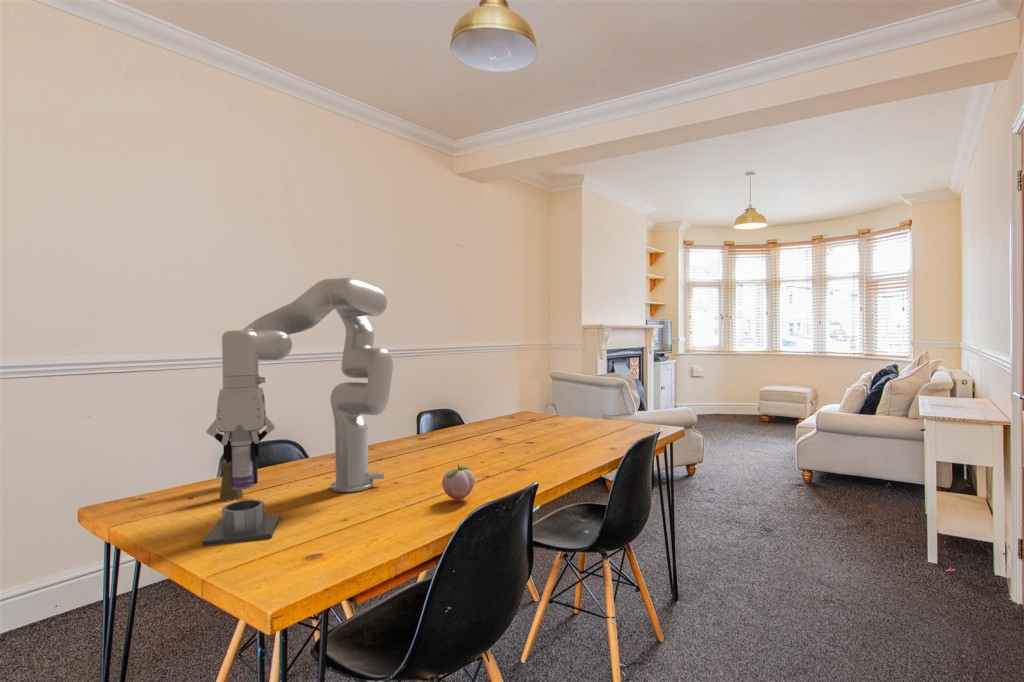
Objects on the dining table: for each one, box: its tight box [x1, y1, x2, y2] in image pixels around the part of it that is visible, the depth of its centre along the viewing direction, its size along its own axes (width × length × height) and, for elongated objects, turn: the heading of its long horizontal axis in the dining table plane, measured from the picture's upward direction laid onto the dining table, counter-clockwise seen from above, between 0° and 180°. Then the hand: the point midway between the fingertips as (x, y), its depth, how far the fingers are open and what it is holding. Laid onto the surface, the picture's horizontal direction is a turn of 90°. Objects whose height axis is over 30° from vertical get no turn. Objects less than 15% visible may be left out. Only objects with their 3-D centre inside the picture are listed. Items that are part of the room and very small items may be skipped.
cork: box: [219, 459, 244, 501], centre depth 150 cm, size 6×6×11 cm
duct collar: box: [201, 499, 281, 547], centre depth 124 cm, size 14×14×6 cm
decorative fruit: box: [441, 464, 476, 502], centre depth 144 cm, size 9×8×10 cm
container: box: [230, 425, 254, 490], centre depth 123 cm, size 5×5×15 cm
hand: (242, 459), depth 124 cm, fingers closed on container, 4 cm apart
